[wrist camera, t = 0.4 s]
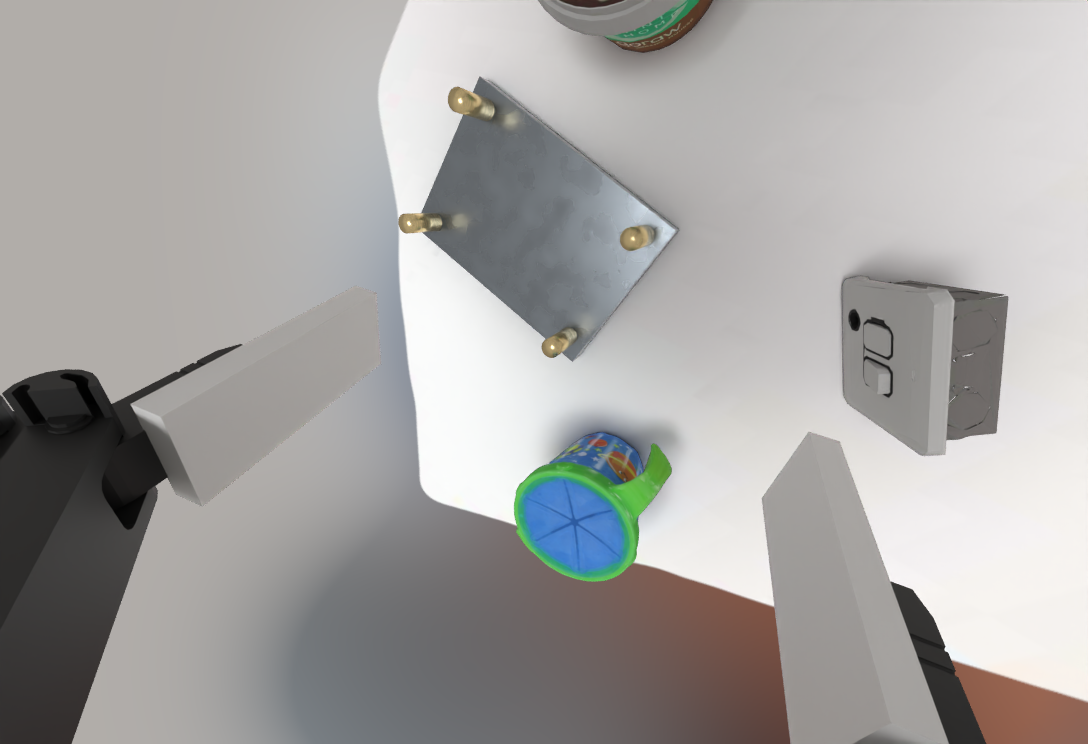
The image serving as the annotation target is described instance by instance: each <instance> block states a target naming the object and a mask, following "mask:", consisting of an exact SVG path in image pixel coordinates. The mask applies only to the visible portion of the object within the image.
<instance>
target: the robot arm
mask: <svg viewBox="0 0 1088 744" xmlns="http://www.w3.org/2000/svg"><path fill="white" fill-rule="evenodd" d="M380 364H381V357H380V342H379V326H378V311H377V295H376V292H373V291H370V290H367V289H364V288H361V287H357V286H354V287H352V288H350V289H349V290H346V291H345V292H343V293H341V294H339V295H337V296H335V297H333V298H331V299H329V300H327V301H326V302H324V303H322V304H320V305H318V306H316V307H314V308H313V309H310V310H309V311H307V312H305V313H303V314H301V315H299V316H297V317H295V318H293V319H291V320H290V321H288V322H286V323H284V324H282V325H280V326H278V327H276V328H274V329H272V330H271V331H268V332H267V333H265V334H263V335H261V336H259V337H257V338H255V339H254V340H252V341H249V342H248V343H246V344H244V345H242V344H239V345H236V346H232V347H228V348H225V349H222V350H218V351H215V352H214V353H212V354H210V355H208V356H206V357H204V358H202V359H200V360H198V361H197V363H196V364H194V363H192V364H190V365H188V366H186V367H184V368H182V369H181V370H180V372H174V373H173V374H170V375H168V376H167V377H165V378H163V379H161V380H159V381H157V382H155V383H153V384H151V385H149V386H147V387H145V388H143V389H141V390H139V391H137V392H135V393H133V394H131V395H129V396H127V397H125V398H124V399H121V400H120V401H117V402H115V403H113V404H111V403H110V401H109V399H108V397H107V395H106V393H105V392H104V390H103V388H102V386H101V384H100V382H99V380H98V379H97V377H96V376H95V375H94V374H93V373H90V372H87V371H84V370H66V369H65V370H58V371H52V372H46V373H43V374H39V375H36V376H32V377H29V378H27V379H24V380H22V381H21V382H18V383H16V384H14V385H12V386H11V387H10V388H8V389H7V390H6V391H5V392H3V393H2V394H3V396H4V397H5V398H6V400H7V401H8V402H9V404H10V405H11V407H12V408H13V410H14V411H12V410H11V409H10V407H9V406H8V404H7V403H6V402H5V400H4V399H3V397H2V396H0V744H72V741H73V738H74V735H75V732H76V729H77V727H78V724H79V721H80V718H81V715H82V712H83V709H84V707H85V703H86V701H87V698H88V695H89V692H90V689H91V686H92V684H93V681H94V678H95V675H96V672H97V669H98V667H99V664H100V661H101V658H102V655H103V652H104V649H105V646H106V644H107V641H108V638H109V635H110V632H111V629H112V626H113V624H114V621H115V618H116V615H117V612H118V609H119V606H120V604H121V601H122V598H123V595H124V592H125V589H126V586H127V584H128V581H129V578H130V575H131V572H132V569H133V566H134V563H135V561H136V558H137V554H138V552H139V549H140V546H141V544H142V541H143V538H144V535H145V532H146V529H147V526H148V523H149V521H150V518H151V515H152V512H153V509H154V506H155V503H156V501H157V494H158V493H157V492H158V490H157V488H156V487H155V486H156V485H157V484H158V483H160V482H161V481H163V480H164V479H166V478H168V480H169V482H170V484H171V486H172V488H173V490H174V492H175V493H176V495H178V496H180V497H183V498H185V499H187V500H189V501H191V502H194V503H196V504H198V505H200V506H204V505H205V504H206V503H207V502H209V501H210V500H211V499H212V498H214V497H215V496H216V495H217V494H219V493H220V492H221V491H222V490H224V489H225V488H226V487H227V486H229V485H230V484H231V483H232V482H234V481H235V480H236V479H237V478H239V477H240V476H241V475H242V474H244V473H245V472H246V471H247V470H249V469H250V468H251V467H252V466H254V465H255V464H256V463H257V462H259V461H260V460H261V459H262V458H264V457H265V456H266V455H267V454H269V453H270V452H271V451H272V450H274V449H275V448H276V447H277V446H278V445H280V444H281V443H282V442H283V441H285V440H286V439H287V438H289V437H290V436H291V435H292V434H294V433H295V432H296V431H297V430H299V429H300V428H301V427H302V426H304V425H305V424H306V423H307V422H309V421H310V420H311V419H312V418H314V417H315V416H316V415H317V414H319V413H320V412H321V411H322V410H323V409H325V408H326V407H327V406H329V405H330V404H331V403H332V402H334V401H335V400H336V399H337V398H339V397H340V396H341V395H342V394H344V393H345V392H346V391H347V390H349V389H350V388H351V387H352V386H354V385H355V384H356V383H357V382H358V381H360V380H361V379H362V378H364V377H365V376H366V375H367V374H369V373H370V372H371V371H372V370H374V369H375V368H376V367H377V366H379V365H380ZM762 504H763V512H764V521H765V529H766V538H767V546H768V555H769V563H770V572H771V580H772V589H773V597H774V606H775V614H776V623H777V630H778V640H779V647H780V656H781V665H782V674H783V682H784V691H785V698H786V708H787V716H788V724H789V732H790V741H791V744H986V742H985V740H984V738H983V735H982V733H981V730H980V728H979V725H978V723H977V721H976V718H975V716H974V714H973V711H972V709H971V706H970V704H969V702H968V699H967V697H966V694H965V692H964V690H963V687H962V685H961V683H960V680H959V678H958V677H956V676H955V668H954V666H953V663H952V661H951V659H950V656H949V654H948V652H945V650H944V649H945V644H944V642H943V640H942V637H941V635H940V632H939V630H938V628H937V625H936V623H935V621H934V618H933V617H932V615H931V614H930V613H929V611H928V610H927V609H926V607H925V606H924V605H923V603H922V602H921V601H920V599H919V598H918V597H917V595H916V594H915V593H914V591H913V590H912V589H910V588H907V587H904V586H901V585H899V584H896V583H893V582H891V581H890V580H889V577H888V574H887V571H886V569H885V566H884V563H883V560H882V558H881V555H880V552H879V549H878V547H877V544H876V541H875V538H874V536H873V533H872V530H871V527H870V525H869V522H868V519H867V516H866V513H865V511H864V508H863V505H862V502H861V500H860V497H859V494H858V491H857V489H856V486H855V483H854V480H853V478H852V475H851V472H850V469H849V467H848V464H847V461H846V458H845V455H844V453H843V450H842V447H841V444H840V442H839V441H836V440H833V439H830V438H827V437H824V436H821V435H817V434H814V433H811V432H808V434H807V435H806V437H805V438H804V439H803V441H802V442H801V444H800V445H799V447H798V448H797V449H796V451H795V452H794V454H793V455H792V456H791V458H790V459H789V461H788V462H787V464H786V465H785V466H784V468H783V469H782V471H781V472H780V473H779V475H778V476H777V478H776V479H775V480H774V482H773V483H772V485H771V486H770V488H769V489H768V490H767V492H766V493H765V495H764V496H763V497H762Z"/></svg>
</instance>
